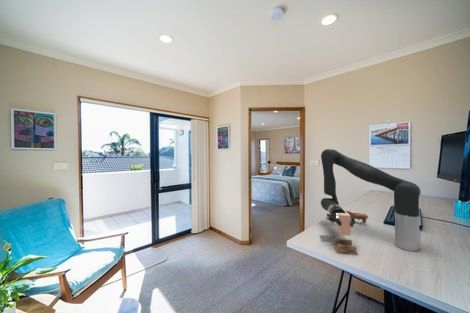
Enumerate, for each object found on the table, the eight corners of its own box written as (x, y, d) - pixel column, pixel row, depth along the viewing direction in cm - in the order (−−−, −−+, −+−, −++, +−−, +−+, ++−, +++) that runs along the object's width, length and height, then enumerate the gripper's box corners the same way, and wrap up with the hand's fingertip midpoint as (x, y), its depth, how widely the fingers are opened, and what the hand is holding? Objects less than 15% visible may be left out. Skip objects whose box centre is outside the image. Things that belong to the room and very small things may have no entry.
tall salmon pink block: (348, 232, 96) (348, 213, 95) (350, 235, 92) (350, 215, 92) (338, 231, 97) (338, 212, 96) (340, 234, 93) (340, 215, 93)
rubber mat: (333, 236, 109) (333, 236, 109) (337, 243, 101) (337, 243, 101) (319, 235, 111) (319, 235, 111) (321, 242, 103) (321, 241, 103)
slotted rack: (351, 247, 97) (351, 239, 97) (357, 256, 90) (357, 247, 89) (332, 245, 100) (332, 238, 99) (337, 254, 92) (337, 245, 92)
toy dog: (346, 219, 135) (346, 208, 134) (368, 224, 124) (368, 212, 124) (343, 220, 132) (343, 209, 132) (366, 226, 121) (366, 214, 121)
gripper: (323, 205, 110) (330, 215, 93) (350, 206, 106) (362, 217, 89) (323, 217, 110) (330, 230, 93) (350, 219, 106) (362, 233, 90)
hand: (346, 224), depth 91 cm, fingers closed on tall salmon pink block, 4 cm apart
